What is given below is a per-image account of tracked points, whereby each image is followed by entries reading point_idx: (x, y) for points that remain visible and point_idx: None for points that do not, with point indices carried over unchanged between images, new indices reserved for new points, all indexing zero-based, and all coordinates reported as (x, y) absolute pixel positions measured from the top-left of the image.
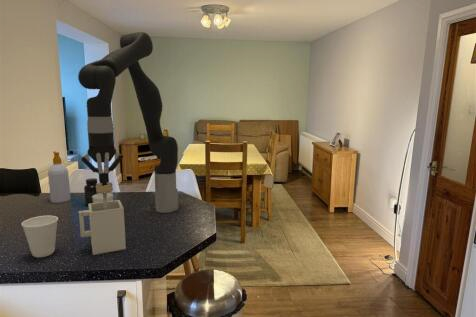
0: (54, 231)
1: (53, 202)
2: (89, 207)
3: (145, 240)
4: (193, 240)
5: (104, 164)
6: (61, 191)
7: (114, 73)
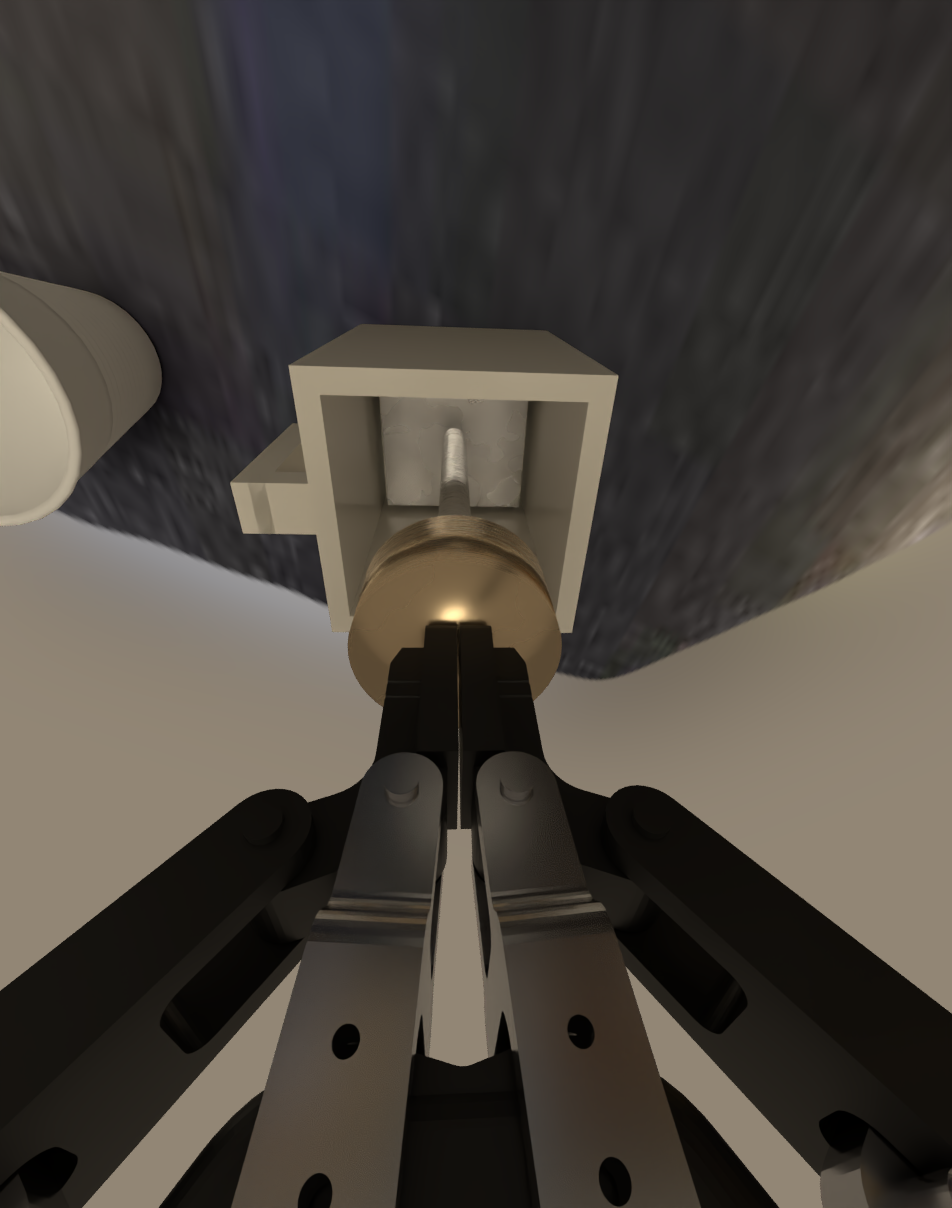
0: (109, 434)
1: None
2: (316, 503)
3: (648, 444)
4: (830, 551)
5: (490, 1027)
6: None
7: None
